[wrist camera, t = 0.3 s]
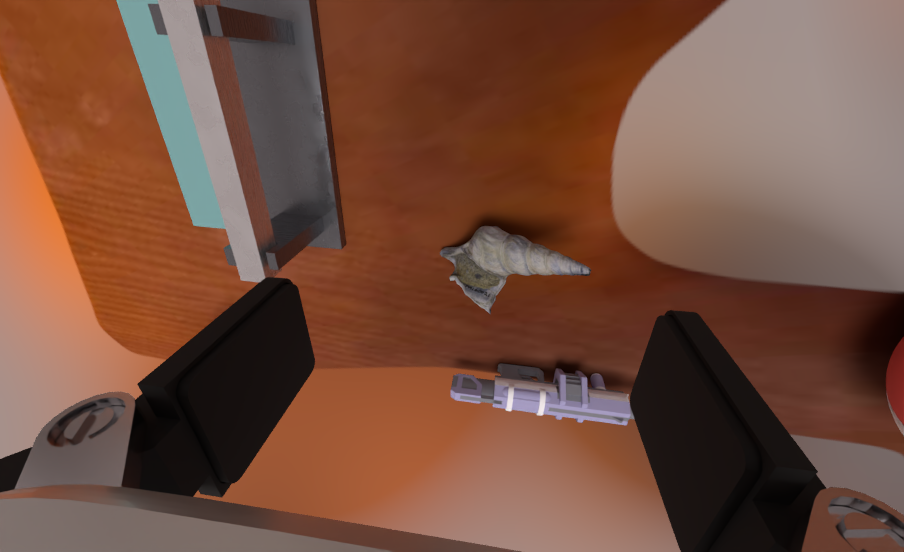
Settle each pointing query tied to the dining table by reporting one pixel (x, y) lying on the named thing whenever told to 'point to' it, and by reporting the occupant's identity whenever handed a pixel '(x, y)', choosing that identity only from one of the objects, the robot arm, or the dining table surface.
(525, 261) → the seashell
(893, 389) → the ball
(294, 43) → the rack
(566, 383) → the toy gun
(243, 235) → the rail
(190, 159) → the mat
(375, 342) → the dining table surface
